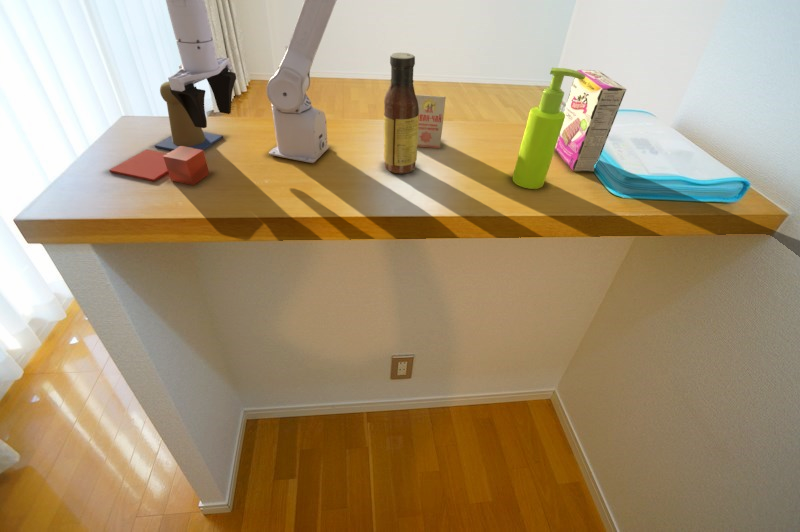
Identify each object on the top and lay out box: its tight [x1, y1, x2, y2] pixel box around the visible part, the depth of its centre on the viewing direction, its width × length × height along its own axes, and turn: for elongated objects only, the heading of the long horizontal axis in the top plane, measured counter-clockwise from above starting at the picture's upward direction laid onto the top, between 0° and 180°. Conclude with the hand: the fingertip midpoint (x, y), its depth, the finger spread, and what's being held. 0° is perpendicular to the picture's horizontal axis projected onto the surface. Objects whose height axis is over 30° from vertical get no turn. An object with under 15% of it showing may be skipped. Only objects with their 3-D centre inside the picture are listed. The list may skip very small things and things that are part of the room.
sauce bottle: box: [383, 52, 419, 175], centre depth 73 cm, size 6×6×20 cm
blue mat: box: [153, 131, 224, 151], centre depth 83 cm, size 9×9×1 cm
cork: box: [159, 81, 206, 147], centre depth 79 cm, size 6×6×11 cm
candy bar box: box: [554, 69, 627, 173], centre depth 82 cm, size 11×5×16 cm, turn 6°
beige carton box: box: [415, 94, 447, 149], centre depth 86 cm, size 4×7×10 cm, turn 87°
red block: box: [163, 146, 210, 186], centre depth 71 cm, size 4×4×4 cm
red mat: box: [108, 149, 169, 182], centre depth 74 cm, size 9×9×1 cm
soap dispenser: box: [511, 67, 585, 190], centre depth 72 cm, size 6×7×20 cm
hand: (213, 119), depth 78 cm, fingers open, 7 cm apart
